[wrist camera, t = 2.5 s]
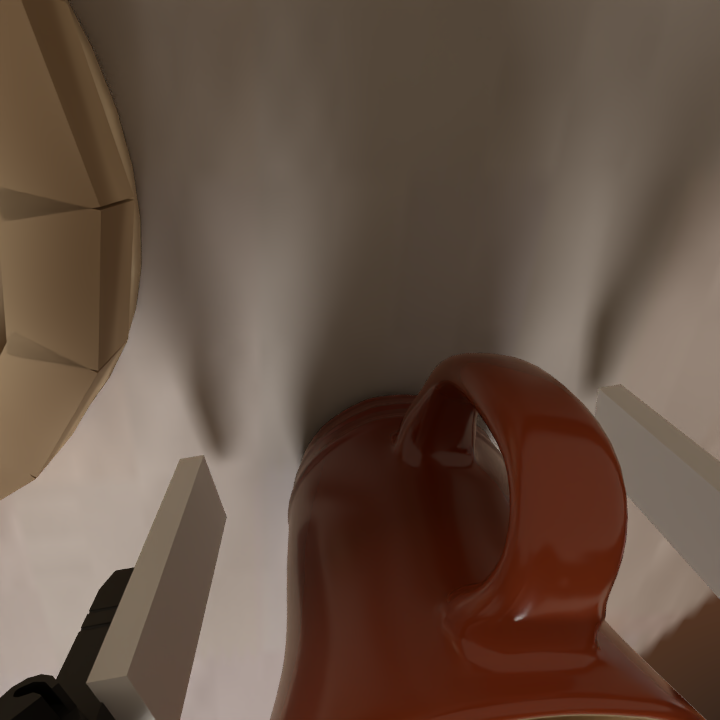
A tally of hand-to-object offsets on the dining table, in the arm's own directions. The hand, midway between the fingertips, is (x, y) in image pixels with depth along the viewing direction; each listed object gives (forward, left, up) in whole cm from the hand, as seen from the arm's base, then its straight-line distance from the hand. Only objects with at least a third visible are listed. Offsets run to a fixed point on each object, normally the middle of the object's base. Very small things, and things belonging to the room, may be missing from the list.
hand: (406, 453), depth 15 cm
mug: (0, 0, -2) cm, 2 cm away
